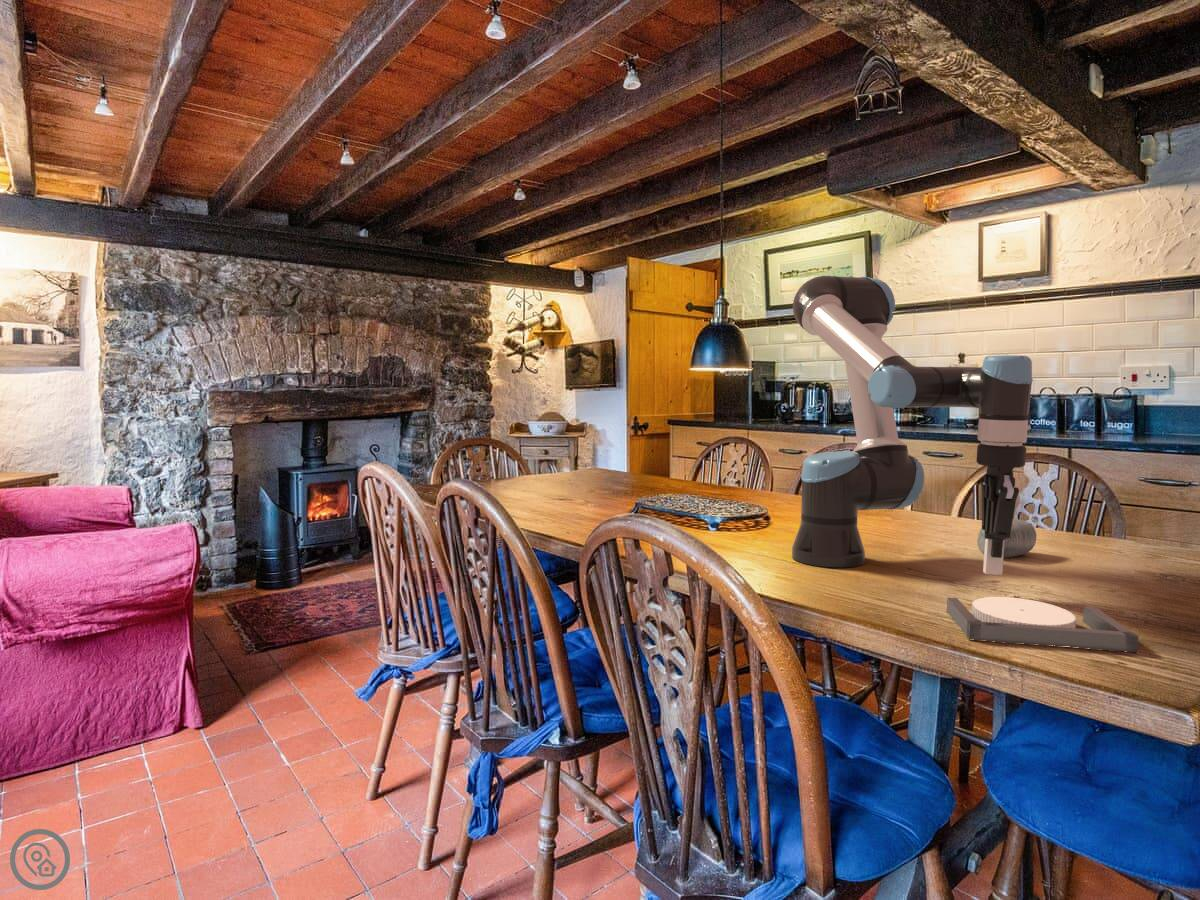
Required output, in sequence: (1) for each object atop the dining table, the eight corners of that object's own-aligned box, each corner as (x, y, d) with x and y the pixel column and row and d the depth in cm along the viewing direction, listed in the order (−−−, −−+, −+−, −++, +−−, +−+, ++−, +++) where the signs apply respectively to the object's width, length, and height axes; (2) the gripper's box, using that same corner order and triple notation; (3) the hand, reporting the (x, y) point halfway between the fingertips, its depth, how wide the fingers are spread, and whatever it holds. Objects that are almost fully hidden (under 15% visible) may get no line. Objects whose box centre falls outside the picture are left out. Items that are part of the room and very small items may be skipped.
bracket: (969, 640, 102) (970, 624, 102) (946, 612, 116) (947, 597, 115) (1137, 653, 97) (1138, 635, 97) (1093, 622, 110) (1094, 606, 110)
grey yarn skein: (1004, 533, 163) (1017, 500, 158) (1039, 558, 156) (1054, 525, 150) (960, 551, 159) (972, 518, 153) (995, 578, 152) (1008, 545, 146)
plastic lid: (981, 606, 120) (982, 591, 119) (1079, 623, 111) (1080, 608, 110) (962, 627, 109) (962, 612, 109) (1069, 649, 100) (1070, 631, 100)
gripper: (1039, 447, 115) (1028, 585, 118) (1012, 440, 128) (1003, 565, 131) (989, 446, 117) (980, 582, 120) (968, 439, 130) (960, 562, 132)
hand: (992, 573), depth 125 cm, fingers closed
